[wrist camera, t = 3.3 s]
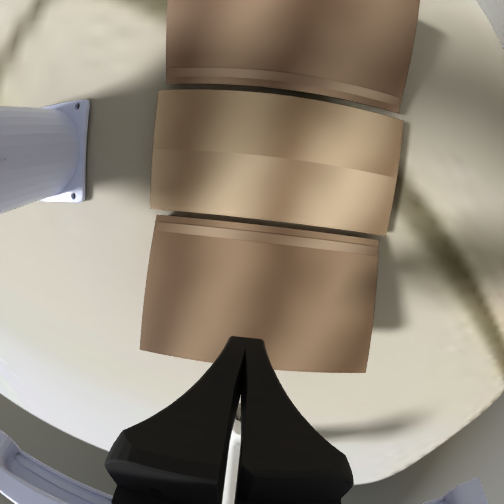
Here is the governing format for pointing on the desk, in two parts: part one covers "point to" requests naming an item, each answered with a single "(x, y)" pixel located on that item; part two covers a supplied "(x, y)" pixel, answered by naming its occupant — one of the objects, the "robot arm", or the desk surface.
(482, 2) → the hinge
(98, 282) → the desk surface
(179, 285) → the plank
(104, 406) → the desk surface
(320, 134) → the floor board
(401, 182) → the desk surface
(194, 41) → the plank
